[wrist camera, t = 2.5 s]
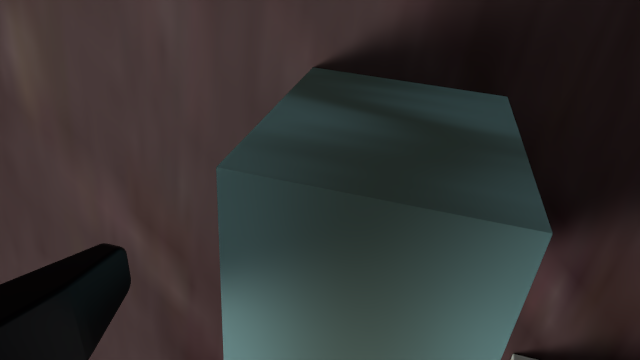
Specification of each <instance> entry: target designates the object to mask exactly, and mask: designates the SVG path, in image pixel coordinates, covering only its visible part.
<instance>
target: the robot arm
mask: <svg viewBox="0 0 640 360" xmlns="http://www.w3.org/2000/svg"><path fill="white" fill-rule="evenodd" d="M130 284H131V277H130V271H129V265H128V259H127V253H126V251H125V249H124V248H122V247H120V246H115V245H111V244H106V243H103V244H99V245H97V246H94V247H92V248H89V249H87V250H84V251H82V252H80V253H77V254H75V255H72V256H70V257H67V258H65V259H62V260H60V261H57V262H55V263H52V264H50V265H47V266H45V267H42V268H40V269H37V270H35V271H33V272H30V273H28V274H25V275H23V276H20V277H18V278H15V279H13V280H10V281H8V282H5V283H3V284H0V360H88V359H89V358H90V356H91V355H92V353H93V351H94V350H95V348H96V346H97V344H98V343H99V341H100V339H101V338H102V336H103V334H104V332H105V331H106V329H107V327H108V326H109V324H110V322H111V320H112V319H113V317H114V315H115V313H116V312H117V310H118V308H119V307H120V305H121V303H122V301H123V300H124V298H125V296H126V294H127V293H128V291H129V288H130Z"/></svg>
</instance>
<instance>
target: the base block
mask: <svg viewBox="0 0 640 360" xmlns="http://www.w3.org/2000/svg"><path fill="white" fill-rule="evenodd" d="M511 360H537V359H532V358H528V357H524V356H520V355H516V354H513V355H512V358H511Z"/></svg>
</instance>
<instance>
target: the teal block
mask: <svg viewBox="0 0 640 360" xmlns="http://www.w3.org/2000/svg"><path fill="white" fill-rule="evenodd" d="M216 172H217V198H218V223H219V249H220V275H221V300H222V326H223V352H224V360H501V357H502V355H503V352H504V350H505V347H506V345H507V343H508V340H509V338H510V335H511V333H512V331H513V328H514V326H515V323H516V321H517V319H518V316H519V314H520V311H521V309H522V306H523V304H524V302H525V299H526V297H527V294H528V292H529V290H530V287H531V285H532V282H533V280H534V278H535V275H536V273H537V270H538V268H539V265H540V263H541V261H542V258H543V256H544V253H545V251H546V249H547V246H548V244H549V241H550V239H551V237H552V234H553V233H552V230H551V227H550V224H549V221H548V218H547V215H546V212H545V209H544V206H543V203H542V200H541V197H540V194H539V191H538V188H537V185H536V182H535V179H534V176H533V173H532V170H531V167H530V164H529V161H528V158H527V154H526V151H525V148H524V145H523V142H522V139H521V136H520V133H519V130H518V127H517V124H516V121H515V118H514V115H513V112H512V109H511V106H510V103H509V100H508V97H506V96H499V95H493V94H486V93H479V92H473V91H466V90H459V89H453V88H446V87H440V86H433V85H426V84H420V83H413V82H407V81H400V80H393V79H387V78H380V77H373V76H367V75H360V74H354V73H347V72H340V71H334V70H327V69H321V68H314V67H313V68H312V69H311V70H310V71H309V72H308V73H307V74H306V75H305V76H304V77H303V78H302V79H301V80H300V81H299V82H298V83H297V84H296V85H295V86H294V87H293V88H292V90H291V91H290V92H289V93H288V94H287V95H286V96H285V97H284V98H283V99H282V100H281V101H280V102H279V103H278V104H277V105H276V106H275V107H274V108H273V109H272V110H271V111H270V112H269V113H268V114H267V115H266V116H265V117H264V118H263V120H262V121H261V122H260V123H259V124H258V125H257V126H256V127H255V128H254V129H253V130H252V131H251V132H250V133H249V134H248V135H247V136H246V137H245V138H244V139H243V140H242V141H241V142H240V143H239V144H238V145H237V146H236V147H235V148H234V149H233V151H232V152H231V153H230V154H229V155H228V156H227V157H226V158H225V159H224V160H223V161H222V162H221V163H220V164H219V165H218V166H217V167H216Z"/></svg>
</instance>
